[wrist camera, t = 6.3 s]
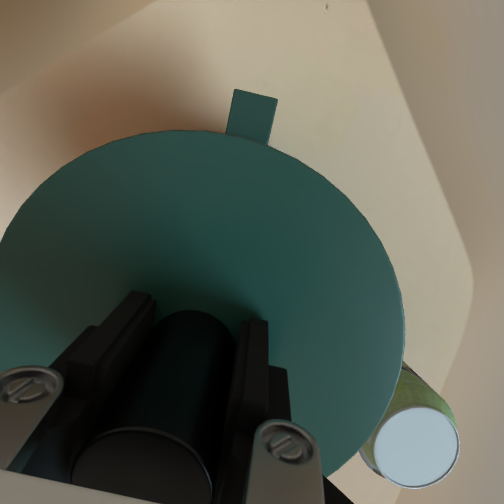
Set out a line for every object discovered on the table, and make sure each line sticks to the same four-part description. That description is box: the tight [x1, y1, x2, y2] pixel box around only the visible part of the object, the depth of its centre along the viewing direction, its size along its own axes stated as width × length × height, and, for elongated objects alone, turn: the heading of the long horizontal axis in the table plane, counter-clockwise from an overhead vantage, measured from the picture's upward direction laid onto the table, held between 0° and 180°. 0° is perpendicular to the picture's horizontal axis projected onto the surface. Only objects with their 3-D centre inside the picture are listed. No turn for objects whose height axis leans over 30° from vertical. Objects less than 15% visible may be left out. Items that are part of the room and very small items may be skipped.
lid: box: [0, 130, 405, 504], centre depth 10 cm, size 13×13×6 cm
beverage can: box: [358, 361, 460, 489], centre depth 28 cm, size 6×7×12 cm
